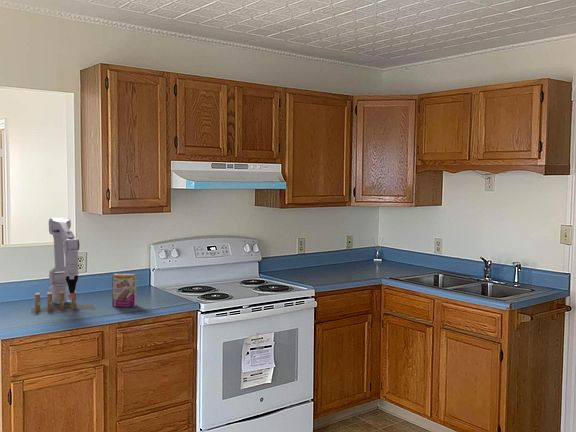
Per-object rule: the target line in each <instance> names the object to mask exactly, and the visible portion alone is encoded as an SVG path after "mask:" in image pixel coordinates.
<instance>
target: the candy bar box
mask: <svg viewBox="0 0 576 432" xmlns="http://www.w3.org/2000/svg"><path fill="white" fill-rule="evenodd" d="M111 279H112V281H111V282H112V287H111V289H112V306H111V307H115V308H135V307H136V306H137V274H136V273H114V274H113V275H112V278H111Z"/></svg>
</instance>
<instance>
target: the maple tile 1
mask: <svg viewBox="0 0 576 432" xmlns="http://www.w3.org/2000/svg"><path fill="white" fill-rule="evenodd" d="M34 305H35V306H34V307H35V311H40V307H41V292H35V294H34Z"/></svg>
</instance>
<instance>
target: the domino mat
mask: <svg viewBox="0 0 576 432" xmlns="http://www.w3.org/2000/svg"><path fill="white" fill-rule="evenodd" d="M85 310H95V303H86V304H84V303H83V304H76V309H72V304H70V305H64V309H61V310H60V305H54V306H53V305H52V310H48V306H40V311H35V306H34V307H31V310H30V312H29V313H30V314H38V313H40V314H41V313H50V312H51V313H54V312H56V313H57V312H66V311H70V312H71V311H85Z"/></svg>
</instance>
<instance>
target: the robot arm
mask: <svg viewBox="0 0 576 432" xmlns="http://www.w3.org/2000/svg"><path fill="white" fill-rule="evenodd" d="M71 221H72V220H71V218H70V217H69V216H68V217H50V218H49V220H48V232H49V234H50V235H52V237H53V248H54V249H53V251H54V252H53V253H54V255H53V256H54V267H53V268H51V269H50V270H49V275H48V281H49V282H48V283H49V285H51V286H49V288H48V292H52V304H58V305H60V291H64V304H65V303H70V302H71V300H69V294H70V293H74V292H75V291H76V288H77V287H76V286H77V282H78V280H79V250H80V240H79V238H77V237H75V234H74V232H73V231H72V230H70V229H71V227H72V222H71ZM68 293H69V294H68Z"/></svg>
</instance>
